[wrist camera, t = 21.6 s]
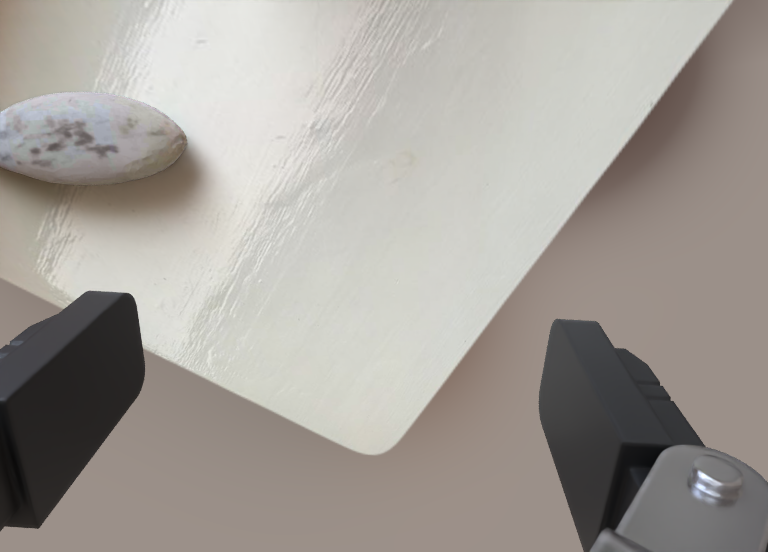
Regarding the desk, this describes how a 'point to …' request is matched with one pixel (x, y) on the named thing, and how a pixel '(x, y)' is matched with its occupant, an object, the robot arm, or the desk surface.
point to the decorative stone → (87, 139)
